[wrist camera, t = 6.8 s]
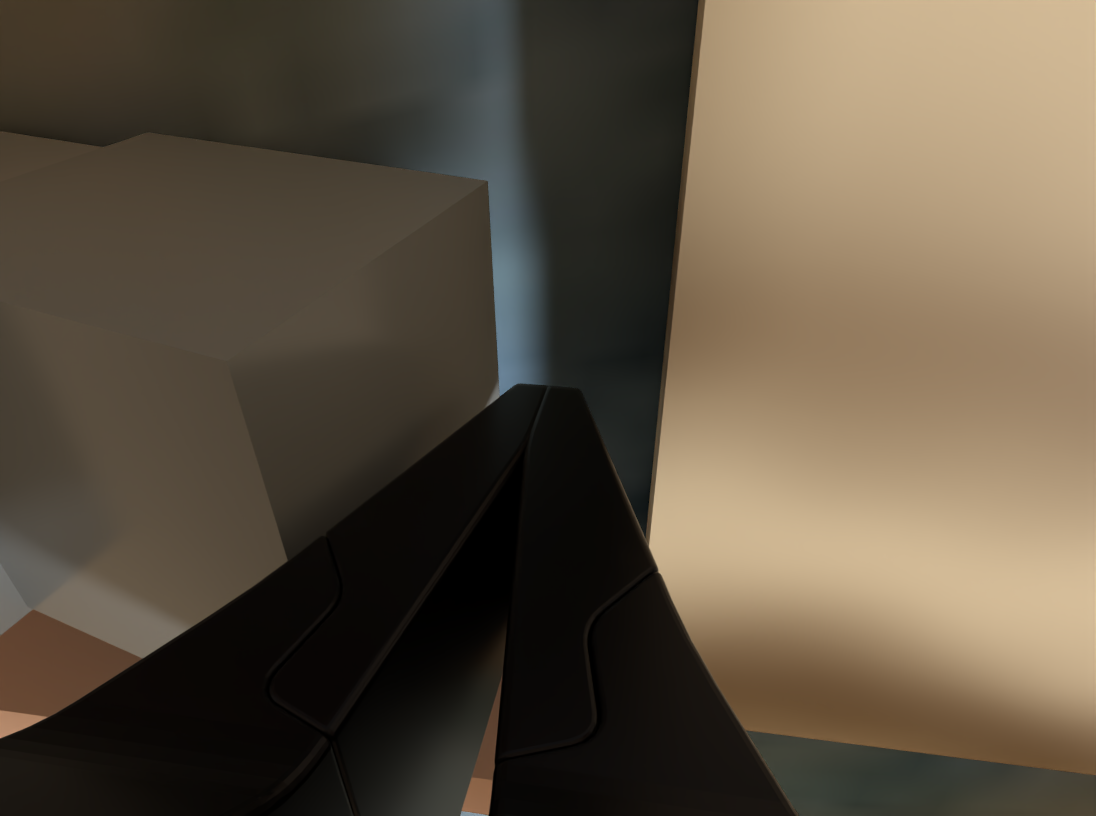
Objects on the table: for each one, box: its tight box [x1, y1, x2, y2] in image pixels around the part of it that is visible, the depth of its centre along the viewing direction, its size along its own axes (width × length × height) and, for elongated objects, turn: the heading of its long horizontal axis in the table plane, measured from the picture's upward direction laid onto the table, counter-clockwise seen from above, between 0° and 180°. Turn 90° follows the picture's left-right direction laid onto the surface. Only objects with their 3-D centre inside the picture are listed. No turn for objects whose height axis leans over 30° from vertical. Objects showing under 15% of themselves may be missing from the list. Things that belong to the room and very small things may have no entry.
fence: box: [0, 609, 502, 815], centre depth 11 cm, size 16×14×4 cm
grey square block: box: [0, 132, 500, 658], centre depth 9 cm, size 5×5×4 cm
